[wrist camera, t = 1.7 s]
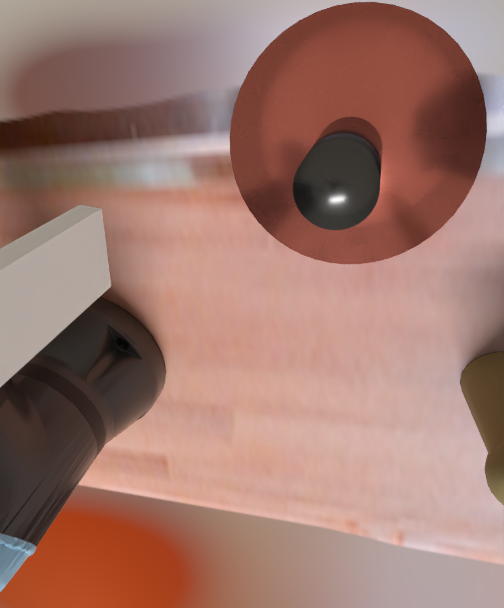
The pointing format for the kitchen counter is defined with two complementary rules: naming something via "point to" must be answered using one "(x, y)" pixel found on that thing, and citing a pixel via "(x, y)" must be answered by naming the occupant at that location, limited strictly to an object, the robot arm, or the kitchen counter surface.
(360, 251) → the lid
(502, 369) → the olive pepper mill
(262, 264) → the kitchen counter surface
